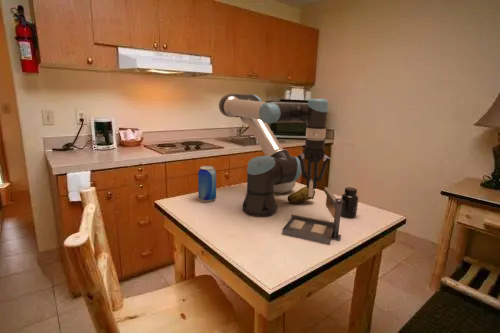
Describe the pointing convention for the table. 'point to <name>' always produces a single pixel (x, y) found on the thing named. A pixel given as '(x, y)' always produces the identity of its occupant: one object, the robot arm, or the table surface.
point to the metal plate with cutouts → (309, 229)
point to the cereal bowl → (284, 187)
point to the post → (337, 220)
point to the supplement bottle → (349, 203)
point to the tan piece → (330, 201)
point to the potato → (300, 196)
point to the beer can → (207, 184)
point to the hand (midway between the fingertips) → (310, 195)
